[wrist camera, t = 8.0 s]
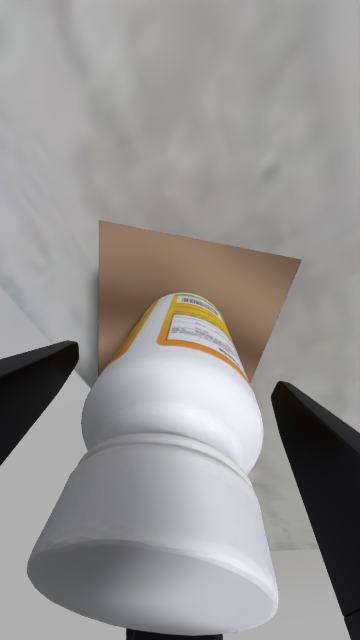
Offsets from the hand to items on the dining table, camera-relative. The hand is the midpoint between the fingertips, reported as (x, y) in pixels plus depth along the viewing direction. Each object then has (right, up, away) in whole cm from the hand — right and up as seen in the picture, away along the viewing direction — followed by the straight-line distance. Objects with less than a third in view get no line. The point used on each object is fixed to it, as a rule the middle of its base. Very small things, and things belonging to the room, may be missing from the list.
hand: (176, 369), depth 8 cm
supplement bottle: (0, +2, +4) cm, 4 cm away
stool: (+1, +3, +8) cm, 9 cm away
